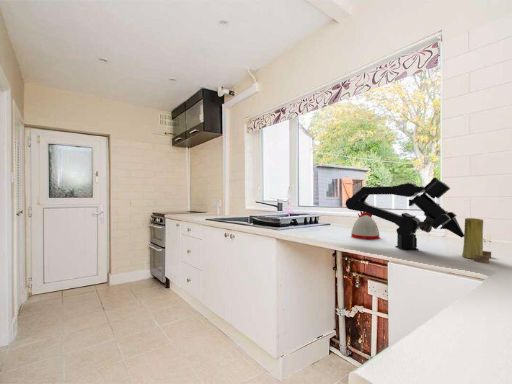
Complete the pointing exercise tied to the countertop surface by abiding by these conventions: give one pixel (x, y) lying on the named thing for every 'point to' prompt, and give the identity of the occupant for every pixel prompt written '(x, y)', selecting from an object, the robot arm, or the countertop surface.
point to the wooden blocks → (483, 257)
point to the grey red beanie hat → (365, 227)
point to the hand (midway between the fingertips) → (463, 236)
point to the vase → (473, 238)
